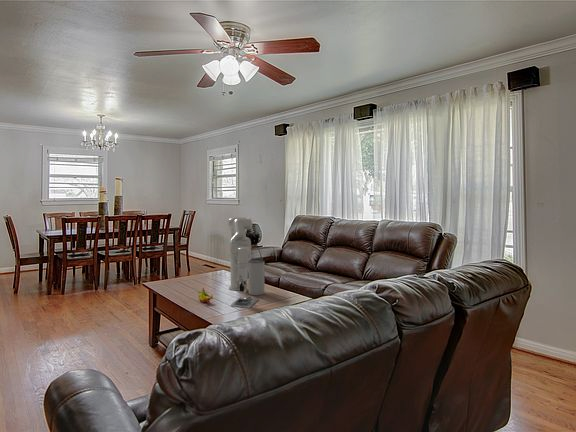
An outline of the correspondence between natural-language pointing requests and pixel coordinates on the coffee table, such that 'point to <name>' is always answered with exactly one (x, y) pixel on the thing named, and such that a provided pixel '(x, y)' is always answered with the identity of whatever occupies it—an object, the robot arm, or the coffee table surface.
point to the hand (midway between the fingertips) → (243, 290)
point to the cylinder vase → (256, 277)
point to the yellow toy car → (204, 296)
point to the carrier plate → (244, 302)
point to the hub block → (244, 288)
